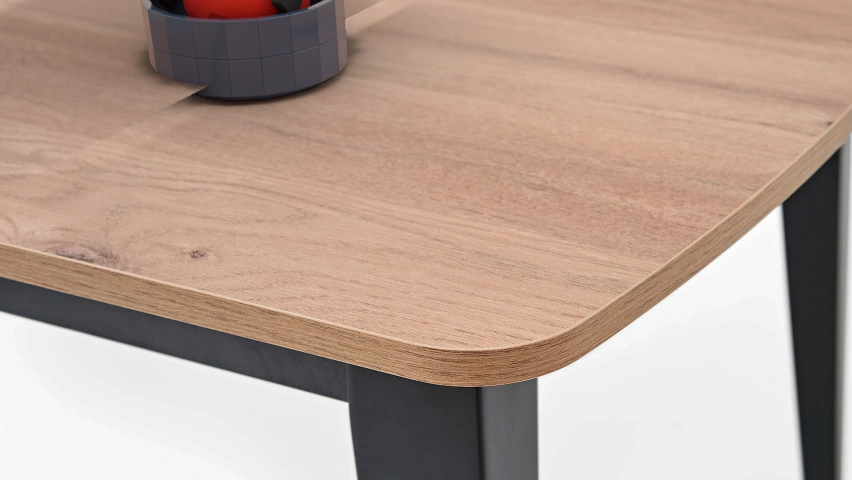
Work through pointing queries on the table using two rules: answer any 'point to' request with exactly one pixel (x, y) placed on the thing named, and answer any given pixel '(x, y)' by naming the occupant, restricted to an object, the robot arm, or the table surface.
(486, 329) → the table surface
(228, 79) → the faceted grey ring
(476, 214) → the table surface
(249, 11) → the tomato
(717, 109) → the table surface
